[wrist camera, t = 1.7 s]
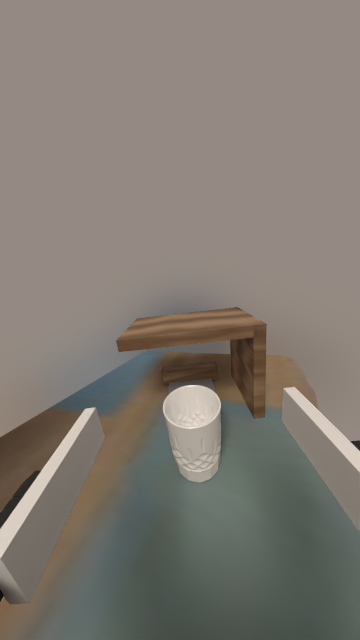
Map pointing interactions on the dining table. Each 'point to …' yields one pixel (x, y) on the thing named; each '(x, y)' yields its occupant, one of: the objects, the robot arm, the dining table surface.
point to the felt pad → (201, 382)
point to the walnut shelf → (204, 328)
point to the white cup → (194, 430)
